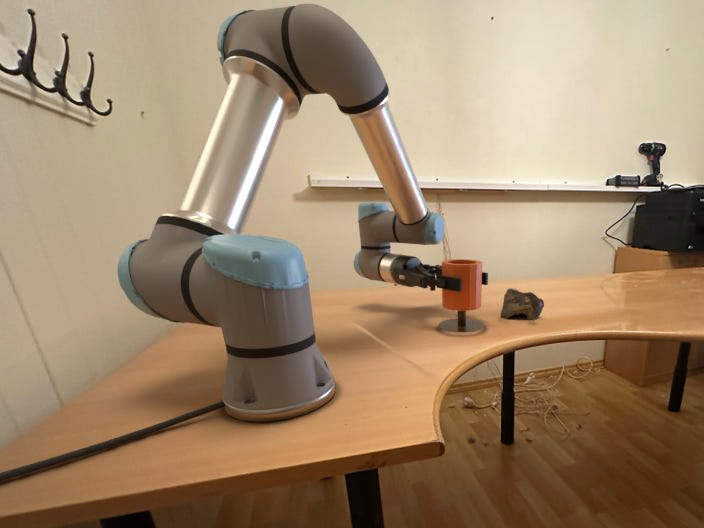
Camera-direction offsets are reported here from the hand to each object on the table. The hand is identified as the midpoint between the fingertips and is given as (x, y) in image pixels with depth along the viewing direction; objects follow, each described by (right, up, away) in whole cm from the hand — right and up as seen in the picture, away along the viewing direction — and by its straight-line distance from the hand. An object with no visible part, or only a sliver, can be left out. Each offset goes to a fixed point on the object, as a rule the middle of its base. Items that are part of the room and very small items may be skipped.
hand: (474, 282), depth 89 cm
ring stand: (-3, -10, +6) cm, 12 cm away
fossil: (+12, -7, +15) cm, 21 cm away
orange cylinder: (-3, -5, +4) cm, 7 cm away
